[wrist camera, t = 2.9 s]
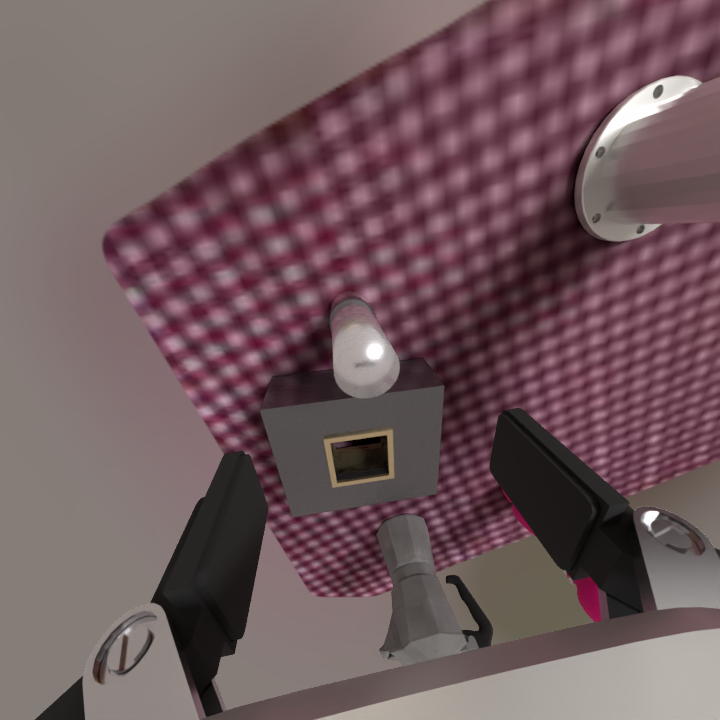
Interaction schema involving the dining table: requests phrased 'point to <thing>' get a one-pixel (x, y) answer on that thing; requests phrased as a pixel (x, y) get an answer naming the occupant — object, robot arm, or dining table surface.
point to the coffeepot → (423, 599)
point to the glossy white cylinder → (360, 348)
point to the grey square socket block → (350, 422)
